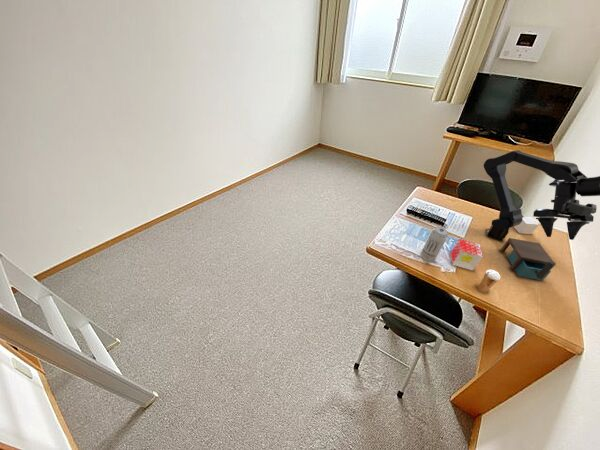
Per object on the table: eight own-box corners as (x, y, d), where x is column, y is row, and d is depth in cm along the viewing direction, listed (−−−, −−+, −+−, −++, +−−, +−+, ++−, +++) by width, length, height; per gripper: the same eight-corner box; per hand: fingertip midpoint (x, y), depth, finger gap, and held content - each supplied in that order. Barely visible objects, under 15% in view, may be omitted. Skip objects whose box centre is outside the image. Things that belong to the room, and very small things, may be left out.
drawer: (507, 257, 118) (522, 237, 111) (529, 261, 117) (546, 241, 110) (522, 282, 106) (540, 262, 99) (546, 287, 106) (567, 267, 98)
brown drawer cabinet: (499, 250, 121) (509, 237, 116) (528, 255, 120) (539, 243, 115) (510, 270, 112) (521, 257, 107) (542, 276, 111) (554, 263, 106)
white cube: (512, 225, 137) (519, 216, 134) (523, 226, 137) (531, 217, 134) (519, 233, 133) (526, 223, 129) (531, 234, 133) (539, 224, 129)
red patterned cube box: (452, 264, 112) (460, 250, 107) (450, 252, 118) (459, 238, 113) (473, 270, 110) (482, 256, 105) (470, 257, 116) (479, 244, 111)
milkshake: (471, 284, 104) (484, 266, 98) (484, 284, 105) (497, 266, 98) (478, 294, 100) (492, 276, 94) (491, 293, 101) (506, 276, 95)
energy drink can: (416, 257, 113) (430, 230, 104) (422, 250, 117) (436, 223, 108) (430, 265, 110) (446, 238, 101) (436, 258, 114) (451, 231, 104)
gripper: (564, 191, 94) (559, 236, 94) (613, 198, 95) (608, 242, 95) (534, 195, 105) (529, 235, 105) (578, 200, 106) (574, 240, 106)
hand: (560, 238), depth 102 cm, fingers open, 9 cm apart
